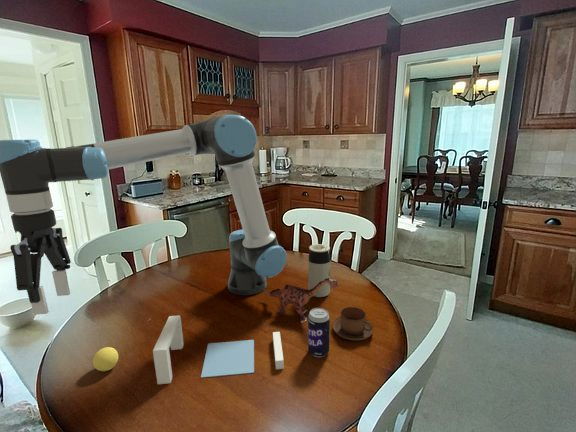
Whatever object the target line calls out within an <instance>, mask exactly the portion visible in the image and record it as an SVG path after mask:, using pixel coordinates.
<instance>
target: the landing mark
mask: <svg viewBox="0 0 576 432" xmlns="http://www.w3.org/2000/svg"><path fill="white" fill-rule="evenodd" d="M247 374H255V340H254V339H248V340H247V339H246V340H245V339H244V340H236V341H225V342H224V341H222V342H210V343H207V347H206V353H205V357H204V362H203V366H202V371H201V375H200V378H201V379H202V378H204V379H205V378H214V377H224V376H234V375H235V376H236V375H247Z"/></svg>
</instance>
